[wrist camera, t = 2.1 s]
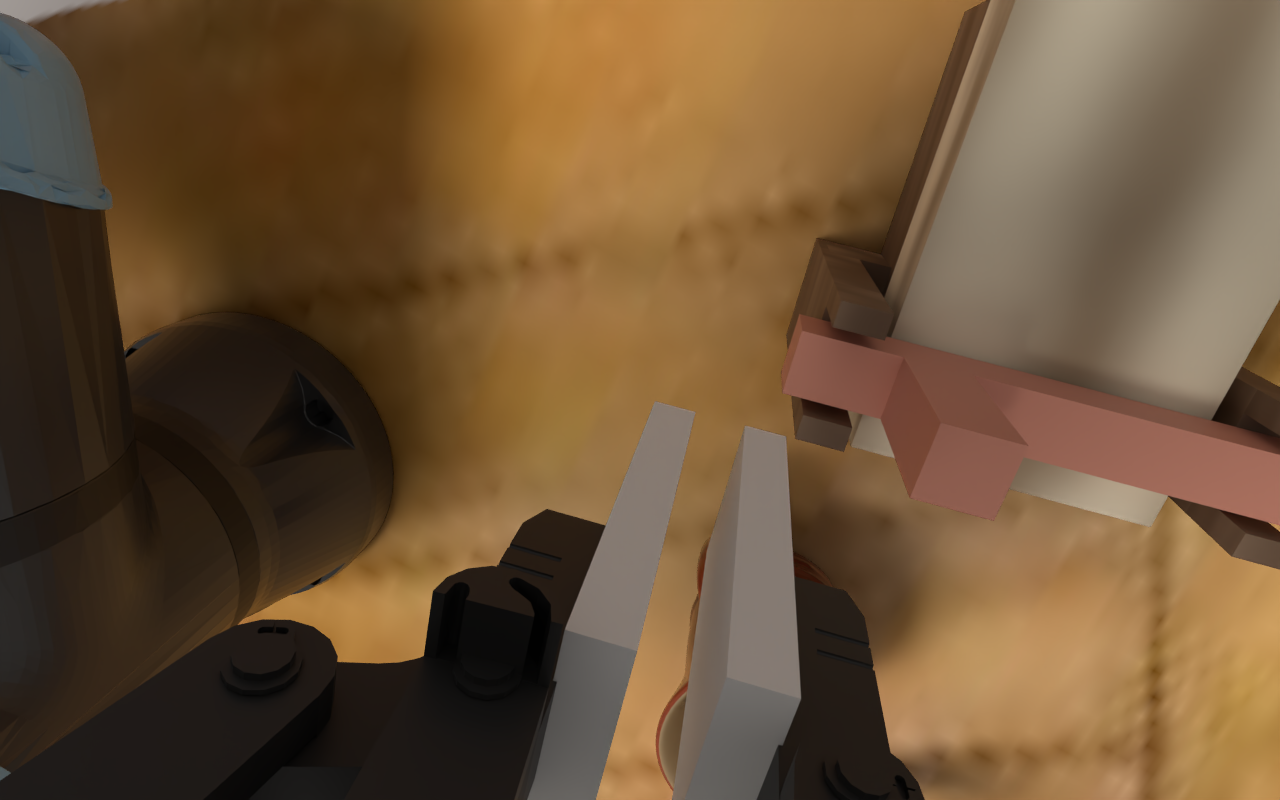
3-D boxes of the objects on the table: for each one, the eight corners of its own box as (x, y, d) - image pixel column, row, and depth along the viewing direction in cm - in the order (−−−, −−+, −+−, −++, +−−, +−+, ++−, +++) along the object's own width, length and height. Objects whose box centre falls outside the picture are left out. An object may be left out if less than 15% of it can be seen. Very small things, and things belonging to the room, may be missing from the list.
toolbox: (784, 341, 34) (792, 447, 23) (892, -5, 28) (968, -78, 18) (1110, 426, 33) (1278, 579, 22) (1285, 85, 27) (1620, 65, 17)
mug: (873, 655, 39) (908, 830, 29) (710, 681, 41) (692, 852, 31) (815, 448, 35) (833, 571, 26) (640, 488, 37) (597, 615, 28)
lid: (842, 413, 28) (850, 446, 25) (1003, -36, 22) (1036, -58, 20) (1111, 485, 27) (1150, 527, 25) (1347, 40, 22) (1432, 30, 19)
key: (781, 372, 24) (785, 464, 18) (799, 314, 24) (811, 388, 17) (1282, 504, 23) (1479, 652, 17) (1318, 448, 23) (1538, 581, 16)
